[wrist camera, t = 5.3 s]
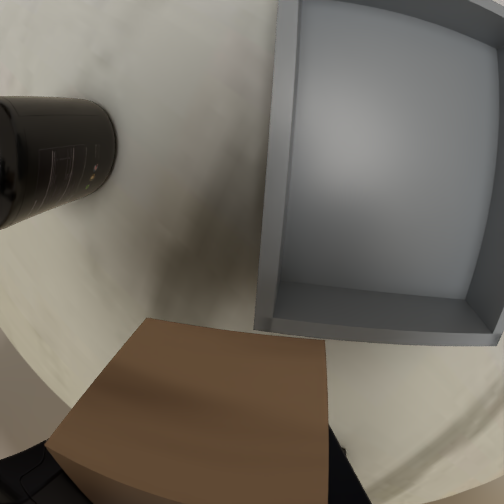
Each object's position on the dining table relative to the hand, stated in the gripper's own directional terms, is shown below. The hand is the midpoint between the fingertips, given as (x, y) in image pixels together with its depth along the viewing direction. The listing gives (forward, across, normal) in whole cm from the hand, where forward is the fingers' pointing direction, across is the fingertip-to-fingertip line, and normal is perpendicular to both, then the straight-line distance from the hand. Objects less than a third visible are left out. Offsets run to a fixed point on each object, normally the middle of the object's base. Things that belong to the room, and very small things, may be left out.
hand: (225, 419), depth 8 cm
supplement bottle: (+11, +13, -8) cm, 19 cm away
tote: (+11, -7, -8) cm, 15 cm away
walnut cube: (+1, 0, 0) cm, 1 cm away
